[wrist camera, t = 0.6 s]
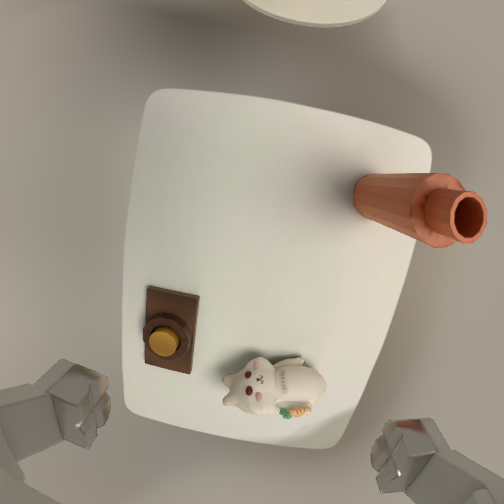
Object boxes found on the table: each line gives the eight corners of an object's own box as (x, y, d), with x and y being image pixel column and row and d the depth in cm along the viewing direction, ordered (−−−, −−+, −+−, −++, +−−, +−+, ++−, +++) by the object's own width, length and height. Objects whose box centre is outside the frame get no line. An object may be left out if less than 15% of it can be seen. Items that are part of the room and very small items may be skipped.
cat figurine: (338, 408, 36) (221, 417, 35) (324, 423, 41) (224, 431, 41) (326, 346, 43) (220, 352, 42) (315, 369, 48) (223, 375, 47)
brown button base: (149, 285, 44) (142, 292, 41) (199, 296, 43) (195, 304, 40) (147, 359, 46) (140, 369, 44) (191, 370, 46) (187, 381, 43)
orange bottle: (352, 174, 39) (435, 172, 17) (393, 174, 38) (498, 176, 17) (353, 219, 40) (433, 262, 18) (394, 218, 39) (495, 257, 18)
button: (153, 323, 42) (149, 328, 40) (180, 329, 42) (177, 335, 40) (152, 346, 43) (148, 352, 41) (178, 353, 43) (175, 359, 41)
